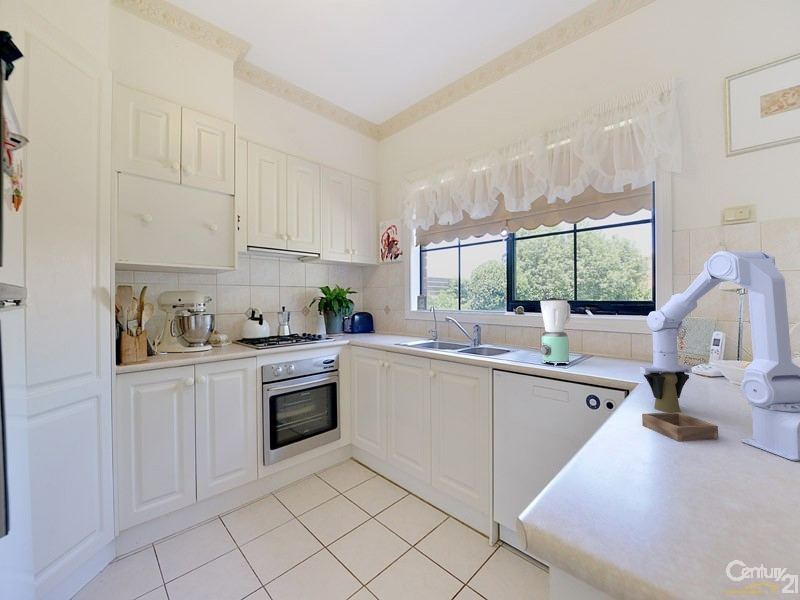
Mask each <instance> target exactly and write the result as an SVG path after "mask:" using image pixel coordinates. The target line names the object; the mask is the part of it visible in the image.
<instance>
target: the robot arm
mask: <svg viewBox="0 0 800 600" xmlns="http://www.w3.org/2000/svg"><path fill="white" fill-rule="evenodd" d="M722 282H724V283H725V282H733V283H735V284H737V285H738V286H740V287H742V289H745V290H747V295H748V296H747V297H748V309H749V311H748V312H749V321H750V333H751V334H750V335H751V345H752V346H751V347H752V350H751V351H752V358H753V359H752V361H751V362H750V363H749V364H748V365H747V366H746V367H744V369H743V374H744V375H743V379H742V380H741V383H740V391H741V393H742V395H743V397H744V399H746V400H747V401H748V404H749V405H751V414H752V415H751V416H752V417H751V418H752V419H751V420H752V438H742V439H741V440H740V441H741V442H742V443H745V444H746V445H750V446H752V447H755V448H757V449H761V450H763V451H765V452H769V453H771V454H774V455H777V456H780V457H782V458H785V459H787V460H790V461H794V462H795V461H800V366H798V365H796V364H795V363H793V361H792V351H791V338H790V327H789V325H790V324H789V313H788V303H787V301H788V300H787V291H786V280H785V278H784V276H783V274H782V273H781V271H780V270H779V269H778V267H777V266H776V257H775V256H774V255H771V254H768V253H766V252H764V251H761V250H751V251H726V250H721V251H720V250H719V251H717V252H715V253H713V254H712V255H711V256H710V258H709V259H708V260H706V261H705V262H704V263H703V269H702V271H701V272H700V274H699V275H698V276H697V277H695V279H694V280H693V281H692V282H691V284H690V285H689V286H688V287H687V289H686V290H684V292H679V293H676V294H672V295H671V296H670V299H669V300H668V301H667V302H666V303H665V304H663V305H662V306H661V307H660V309H657V310H653V311H650V312H649V314H648V316H646V325H647V327H648V328H649V329H650V330H651V337H652V361H653V363H652V364H651V365H647V366H640V367H639V373H640V374H642V375H643V377H644V378H645V379H646V381H647V383H648V385H649V387H650V389H651V392H652V394H653V397H654V398H655V399H656V398H657V399H662V396H663V383H664V380H665V377H663V376H660V375H659V374H661V373H664V372H670V373H674V374H675V375H676V376H677V383H676V384H675V387H676V392H677V397H678V399H680V397H681V395H682V391H683V388H684V386H685V384H686V382H688V380H689V379H690V375H689V374H692V373H693V372H692V371H693V369H692V368H693V367H692V366H691V365H682V364H681V365H680V364H679V354H678V336H679V335H680V329H681V327H682V325H683V320H684V319H685V318H686V317H687V316H688V315H690V314H691V313H692V312H693V311H694V310H696V309H697V307H698V302H697V301H699V300H700V299H701V298H702V297H704V296H705V295H706V294H707V293H708V292H709V293H710V292H711V290H712V289H714V288H716V287H717V286H718V285H719V284H720V283H722ZM686 373H687V374H686Z"/></svg>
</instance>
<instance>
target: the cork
mask: <svg viewBox="0 0 800 600" xmlns="http://www.w3.org/2000/svg"><path fill="white" fill-rule="evenodd" d="M659 375H660V376H663V377H665V380H664V383H663V396H662V399H657V398H655V399H654V408H653V409H655V410H656V411H658V412H659V411H660V412H662V413H671V412H679V413H681V407H680V403H679V398H678V397H677V392H676V387H675V384H676V383H677V376H676V375H675V374H674V373H670V372H664V373H661V374H659Z"/></svg>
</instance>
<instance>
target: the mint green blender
mask: <svg viewBox="0 0 800 600" xmlns="http://www.w3.org/2000/svg"><path fill="white" fill-rule="evenodd" d="M539 302H540V308H541V309H540V311H541V315H542V320H543V321H542V322H543V326H544V330H545V331H544V332H543V333H542V334H541V347H540V354H541V361H542V360H544V361H549V362H569V363H570V347H569V346H570V345H569V336H568V334H567V333H566V332H564V331H565V325H566V324H567V323H569V322H570V320H571V304H570V303H568V299H567V298H564V299H563V298H557V297H550V298H546V299H540V300H539Z"/></svg>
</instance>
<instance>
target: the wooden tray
mask: <svg viewBox="0 0 800 600" xmlns="http://www.w3.org/2000/svg"><path fill="white" fill-rule="evenodd" d="M641 416H642V418H641V420H642V421H641V423H642V426H643V427H645V428H646V429H647V428H648V429H649V430H652V431H655V432H656V433H659V434H660V435H663V436H665V437H668V438H669V437H670V438H669V439H672V440H674V441H677V442H687V441H705V440H709V441H710V440H719V426H718V425H716V424H714V423H710V422H708V421H705V420H701V419H699V418H696V417H694V416H690V415H688V414H685V413H682V412H671V413H669V412H656V413H655V412H652V413H642V414H641Z"/></svg>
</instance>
